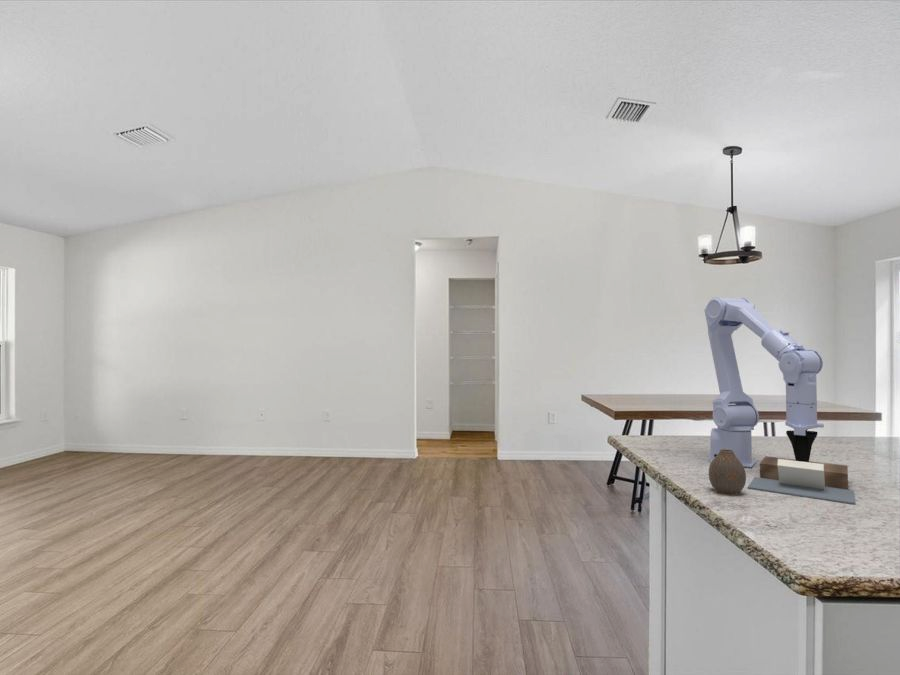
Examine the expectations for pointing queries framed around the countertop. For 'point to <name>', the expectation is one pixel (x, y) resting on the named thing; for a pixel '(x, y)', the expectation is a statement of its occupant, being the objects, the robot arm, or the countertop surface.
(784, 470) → the tile
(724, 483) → the vase
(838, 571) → the countertop surface
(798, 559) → the countertop surface
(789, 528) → the countertop surface
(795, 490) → the mat
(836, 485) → the block
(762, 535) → the countertop surface
